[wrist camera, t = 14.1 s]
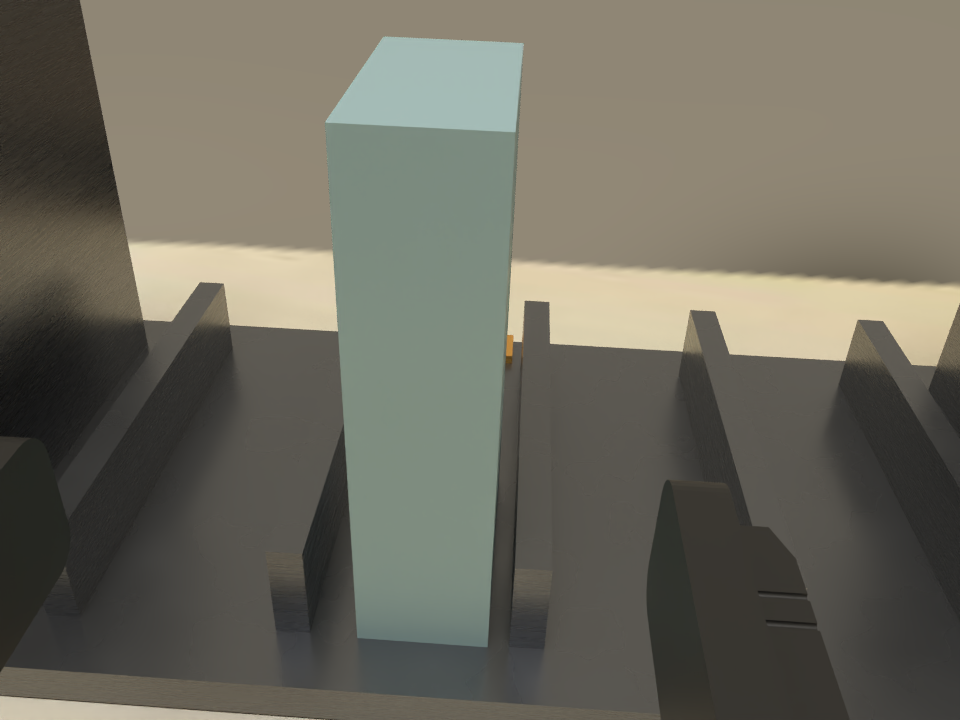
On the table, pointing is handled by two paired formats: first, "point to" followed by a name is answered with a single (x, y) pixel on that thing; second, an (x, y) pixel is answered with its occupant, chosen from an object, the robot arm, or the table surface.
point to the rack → (521, 494)
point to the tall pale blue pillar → (424, 325)
